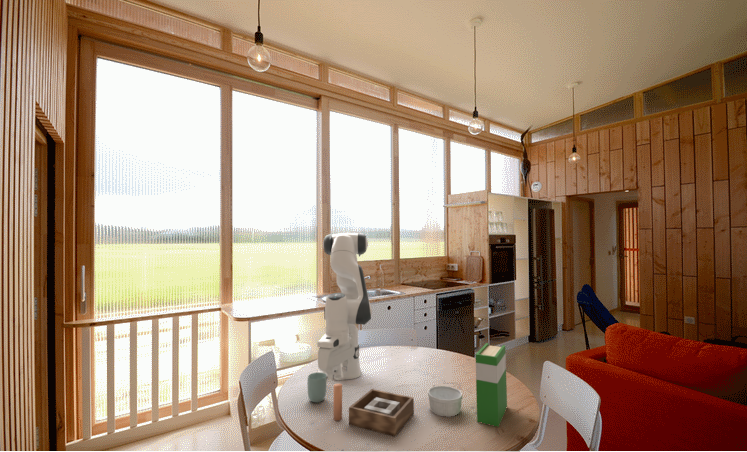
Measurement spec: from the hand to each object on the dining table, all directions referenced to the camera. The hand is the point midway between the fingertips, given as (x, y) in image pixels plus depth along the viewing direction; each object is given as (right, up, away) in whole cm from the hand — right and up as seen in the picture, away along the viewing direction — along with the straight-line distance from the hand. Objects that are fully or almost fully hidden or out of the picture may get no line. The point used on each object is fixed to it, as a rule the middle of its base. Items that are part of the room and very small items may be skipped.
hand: (338, 375), depth 127 cm
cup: (-10, -17, +14) cm, 25 cm away
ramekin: (+41, -16, +5) cm, 44 cm away
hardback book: (+58, -16, +2) cm, 61 cm away
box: (+16, -16, -1) cm, 23 cm away
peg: (0, -16, -1) cm, 16 cm away
